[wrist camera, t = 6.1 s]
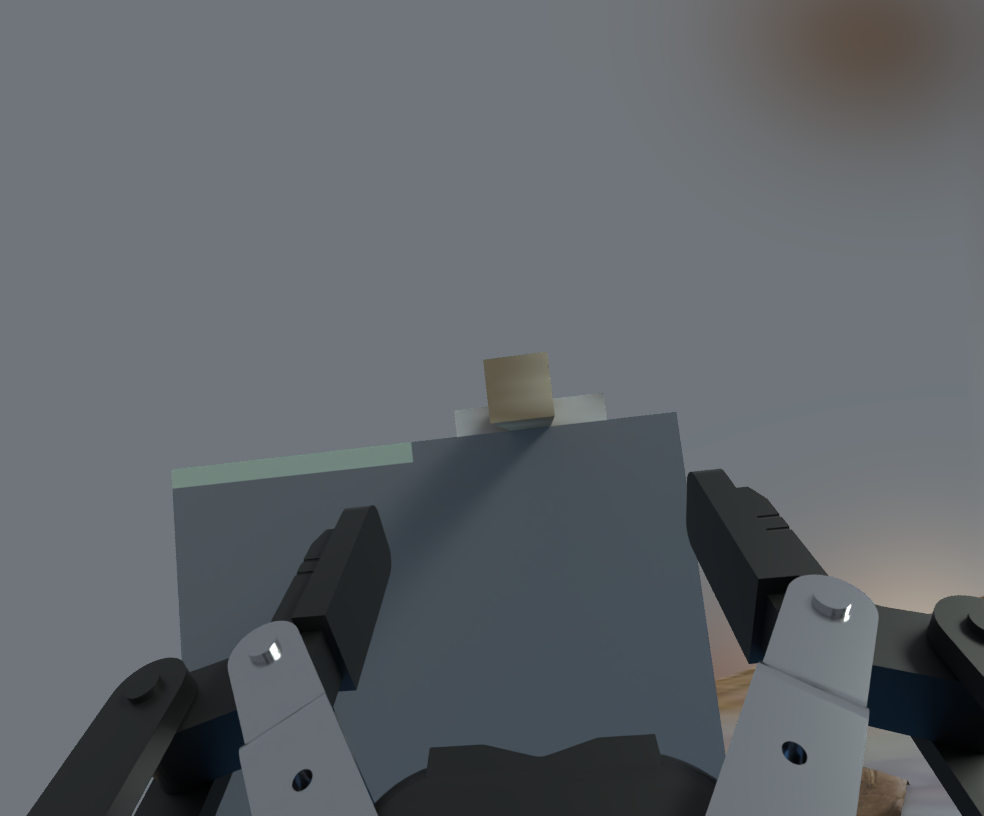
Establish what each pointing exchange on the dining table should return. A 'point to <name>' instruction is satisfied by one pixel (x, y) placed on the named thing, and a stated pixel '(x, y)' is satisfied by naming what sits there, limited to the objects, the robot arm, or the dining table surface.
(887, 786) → the wooden fragment
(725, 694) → the dining table surface
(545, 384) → the hammer
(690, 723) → the blue-grey rectangular block
